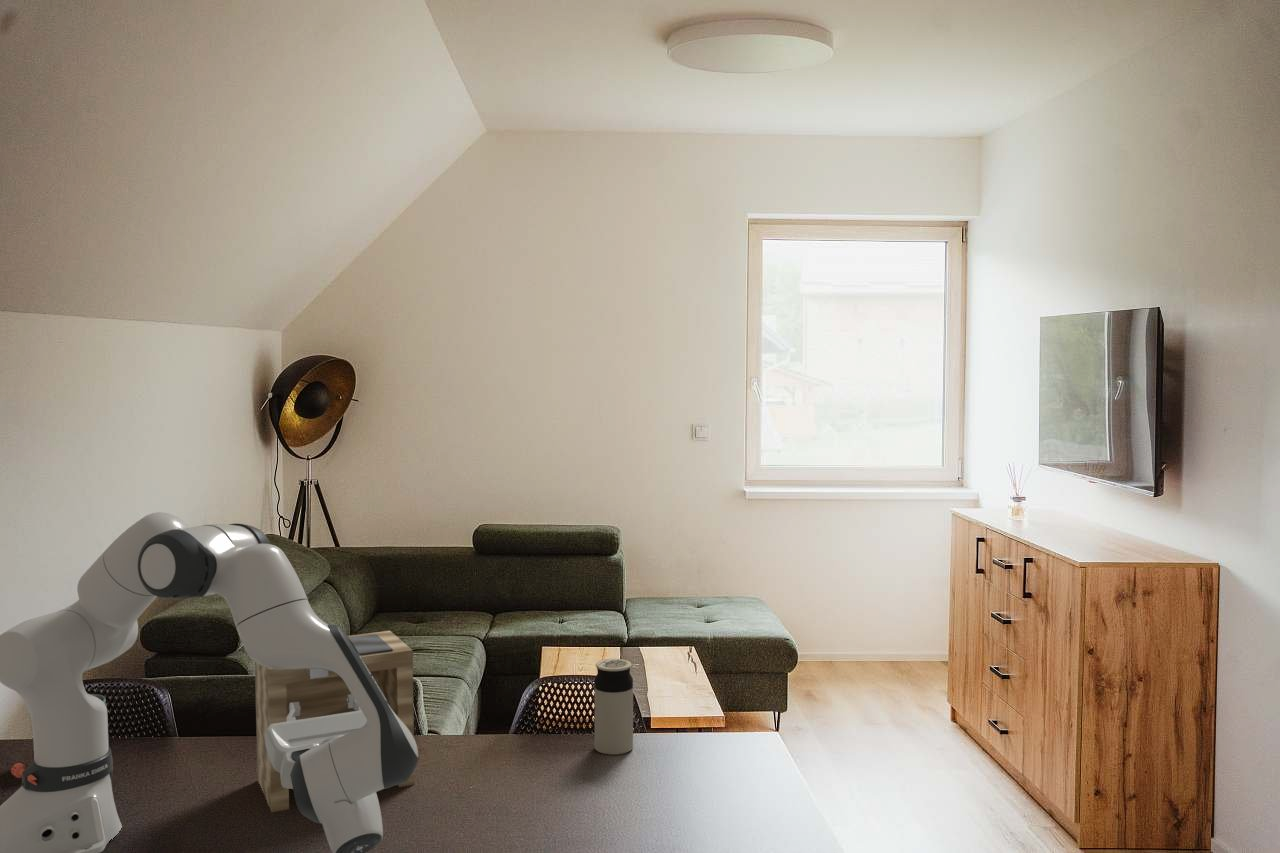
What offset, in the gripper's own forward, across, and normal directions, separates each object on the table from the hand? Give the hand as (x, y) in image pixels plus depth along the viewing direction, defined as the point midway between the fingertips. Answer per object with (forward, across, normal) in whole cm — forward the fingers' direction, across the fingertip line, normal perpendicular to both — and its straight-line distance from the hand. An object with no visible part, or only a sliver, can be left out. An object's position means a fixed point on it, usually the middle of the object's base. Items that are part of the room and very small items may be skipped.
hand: (322, 700), depth 177 cm
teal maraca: (+13, 0, +4) cm, 14 cm away
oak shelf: (+6, -6, +30) cm, 31 cm away
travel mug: (-2, -61, +25) cm, 66 cm away
